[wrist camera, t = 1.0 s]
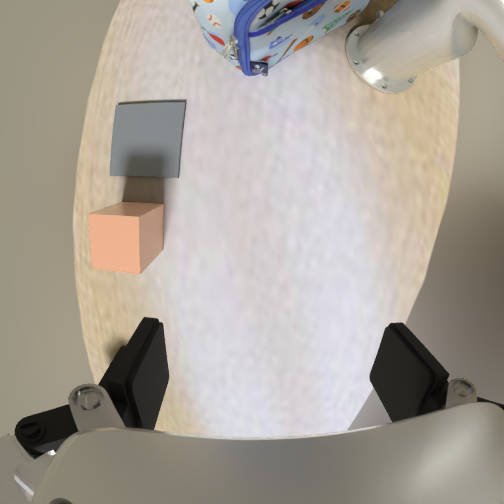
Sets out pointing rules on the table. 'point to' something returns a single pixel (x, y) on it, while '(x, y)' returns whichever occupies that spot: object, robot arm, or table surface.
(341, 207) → the table surface
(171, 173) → the mat
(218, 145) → the table surface
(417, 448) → the robot arm
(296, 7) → the lunch box
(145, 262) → the peach rectangular block
